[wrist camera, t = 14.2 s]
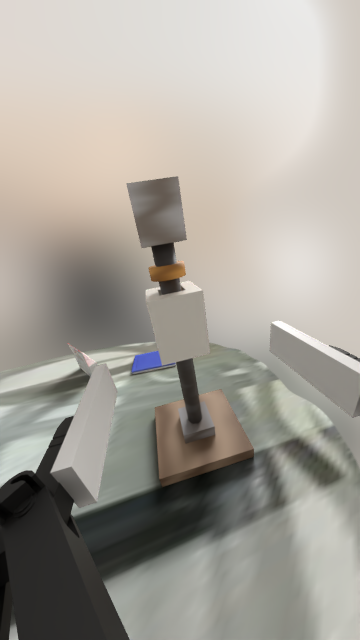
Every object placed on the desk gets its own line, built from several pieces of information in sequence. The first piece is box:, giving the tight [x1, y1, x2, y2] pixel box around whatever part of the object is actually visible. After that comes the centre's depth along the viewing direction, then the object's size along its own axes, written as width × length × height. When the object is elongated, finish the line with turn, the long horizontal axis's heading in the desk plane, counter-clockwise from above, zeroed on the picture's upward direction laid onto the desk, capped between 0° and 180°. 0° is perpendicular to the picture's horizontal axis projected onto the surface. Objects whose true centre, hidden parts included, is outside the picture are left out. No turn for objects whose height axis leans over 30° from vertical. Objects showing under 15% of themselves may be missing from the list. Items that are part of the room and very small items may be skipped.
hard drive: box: [132, 351, 176, 374], centre depth 53 cm, size 2×8×12 cm
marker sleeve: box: [146, 281, 210, 366], centre depth 22 cm, size 6×6×8 cm
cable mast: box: [127, 177, 254, 487], centre depth 24 cm, size 14×12×36 cm
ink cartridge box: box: [68, 343, 97, 377], centre depth 51 cm, size 2×11×10 cm, turn 48°
